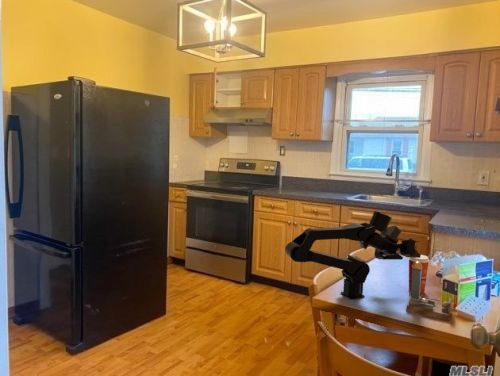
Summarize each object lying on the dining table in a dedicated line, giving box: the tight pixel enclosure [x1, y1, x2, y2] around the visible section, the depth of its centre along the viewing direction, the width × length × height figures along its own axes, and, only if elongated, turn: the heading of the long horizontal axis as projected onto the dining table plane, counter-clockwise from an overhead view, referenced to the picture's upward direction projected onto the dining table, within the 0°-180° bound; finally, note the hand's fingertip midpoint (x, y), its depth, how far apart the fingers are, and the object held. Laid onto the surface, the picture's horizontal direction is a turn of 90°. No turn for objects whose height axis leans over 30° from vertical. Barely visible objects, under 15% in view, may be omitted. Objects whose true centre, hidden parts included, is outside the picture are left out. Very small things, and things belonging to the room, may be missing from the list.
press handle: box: [408, 262, 430, 304], centre depth 131 cm, size 6×3×14 cm, turn 58°
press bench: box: [405, 297, 453, 322], centre depth 130 cm, size 13×8×6 cm, turn 58°
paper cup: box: [407, 254, 430, 295], centre depth 149 cm, size 8×8×14 cm
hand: (411, 257), depth 147 cm, fingers open, 9 cm apart
